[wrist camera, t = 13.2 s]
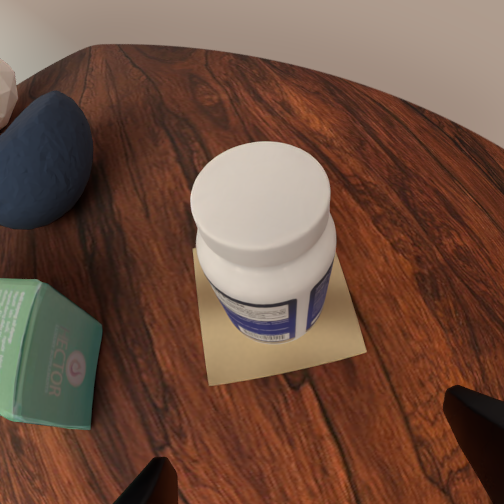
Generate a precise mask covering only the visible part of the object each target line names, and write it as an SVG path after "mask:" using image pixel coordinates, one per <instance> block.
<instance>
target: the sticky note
mask: <svg viewBox="0 0 504 504" xmlns="http://www.w3.org/2000/svg"><path fill="white" fill-rule="evenodd" d="M193 258H194V268H195V278H196V288H197V297H198V306H199V315H200V323H201V332H202V340H203V347H204V355H205V362H206V369H207V376H208V383H209V386H214V385H221V384H227V383H234V382H240V381H246V380H251V379H257V378H262V377H267V376H272V375H277V374H282V373H287V372H292V371H296V370H301V369H305V368H309V367H314V366H318V365H322V364H326V363H330V362H334V361H338V360H342V359H346V358H349V357H353V356H357V355H360V354H364V353H366V352H367V351H366V347H365V344H364V340H363V337H362V333H361V330H360V326H359V323H358V319H357V316H356V313H355V309H354V306H353V303H352V300H351V297H350V293H349V290H348V287H347V284H346V281H345V278H344V275H343V272H342V269H341V266H340V263H339V260H338V257H337V254H336V251H335V257H334V262H333V267H332V271H331V276H330V280H329V284H328V289H327V293H326V297H325V302H324V306H323V309H322V312H321V314H320V316H319V318H318V320H317V322H316V323H315V325H314V326H313V327H312V328H311V329H310V330H309V331H308V332H307V333H306V334H304V335H303V336H301V337H300V338H298V339H296V340H294V341H291V342H288V343H284V344H264V343H259V342H256V341H254V340H251V339H249V338H248V337H246V336H245V335H243V334H242V333H241V332H240V331H239V330H238V329H237V328H236V327H235V326H234V324H233V323H232V322H231V320H230V319H229V317H228V315H227V313H226V312H225V310H224V308H223V306H222V304H221V303H220V301H219V299H218V298H217V296H216V294H215V292H214V290H213V288H212V286H211V284H210V283H209V281H208V279H207V278H206V276H205V274H204V272H203V270H202V267H201V265H200V262H199V259H198V256H197V249H196V248H194V249H193Z"/></svg>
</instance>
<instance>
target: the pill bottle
mask: <svg viewBox="0 0 504 504" xmlns="http://www.w3.org/2000/svg"><path fill="white" fill-rule="evenodd" d="M190 201H191V211H192V214H193V217H194V220H195V222H196V225H197V227H198V231H197V237H196V249H197V256H198V259H199V262H200V265H201V267H202V270H203V272H204V274H205V276H206V278H207V279H208V281H209V283H210V284H211V286H212V288H213V290H214V292H215V294H216V296H217V298H218V299H219V301H220V303H221V304H222V306H223V308H224V310H225V312H226V313H227V315H228V317H229V319H230V320H231V322H232V323H233V324H234V326H235V327H236V328H237V329H238V330H239V331H240V332H241V333H242V334H243V335H245V336H246V337H248V338H249V339H251V340H254V341H256V342H259V343H264V344H284V343H288V342H291V341H294V340H296V339H298V338H300V337H301V336H303V335H304V334H306V333H307V332H308V331H309V330H310V329H311V328H312V327H313V326H314V325H315V323H316V322H317V320H318V318H319V316H320V314H321V312H322V309H323V306H324V302H325V297H326V293H327V289H328V284H329V280H330V276H331V271H332V267H333V262H334V257H335V251H336V229H335V224H334V221H333V219H332V216H331V214H330V212H329V211H330V184H329V180H328V177H327V174H326V172H325V171H324V169H323V167H322V166H321V165H320V164H319V162H318V161H317V160H316V159H315V158H313V157H312V156H311V155H310V154H308V153H307V152H305V151H303V150H301V149H300V148H297V147H294V146H292V145H288V144H285V143H279V142H253V143H248V144H244V145H240V146H237V147H234V148H231V149H229V150H227V151H225V152H223V153H221V154H220V155H218V156H217V157H215V158H214V159H213V160H211V161H210V162H209V163H208V164H207V165H206V166H205V167H204V168H203V170H202V171H201V172H200V173H199V175H198V176H197V178H196V180H195V182H194V185H193V188H192V192H191V199H190Z"/></svg>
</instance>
